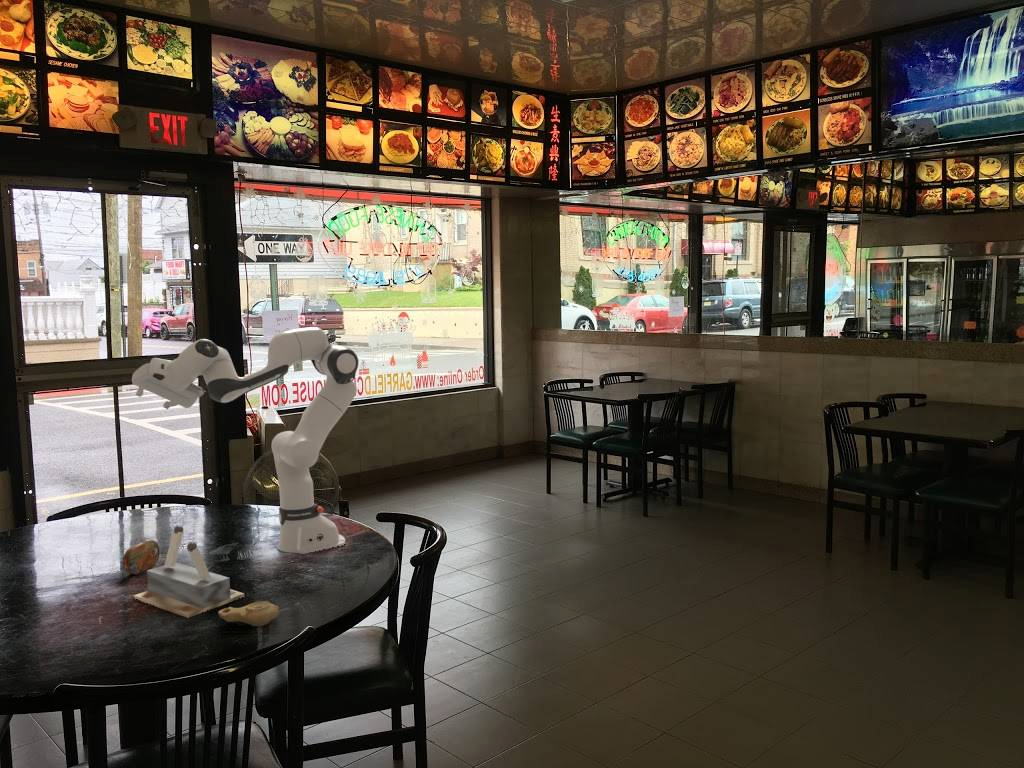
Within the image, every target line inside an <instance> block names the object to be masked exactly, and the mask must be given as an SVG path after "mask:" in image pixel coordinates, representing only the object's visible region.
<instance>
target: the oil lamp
mask: <svg viewBox="0 0 1024 768" xmlns="http://www.w3.org/2000/svg"><path fill="white" fill-rule="evenodd" d="M217 613H218V614H217V615H218V616H219V618H221V619H222V620H224V621H226V622H228V623H231V622H232V623H233V622H237V623H239V622H240V623H243V624H248V625H250V626H251V627H262V626H266V625H267V624H269V623H270V622H271V621H272V620H274V619H276V617H277V616H279V613H280V607H279V606H278V605H275V604H274V603H270V601H266V600H263V601H254V602H252V603H249V604H247V605H244V606H242V607H232V606H229V607H225V608H223V609H220V610H218V611H217Z"/></svg>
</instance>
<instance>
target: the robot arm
mask: <svg viewBox="0 0 1024 768" xmlns="http://www.w3.org/2000/svg"><path fill="white" fill-rule="evenodd" d="M305 361H311V363H312V366H313V367H314V369H315V370H316V371H317V372H318V373H319V374H321V375H323V376H326V380H325V383H324V386H323V387H322V388H321V389H320V390H319V392H318V393H317V394H316V395H315V396H314V398H313V399H312V401H311V402H310V403H309V404H308V405H307V407H306V408H305V409H304V411H303V412H302V414H301V418H300V421H299V423H298V425H297V426H296V428H295V429H294V431H293V430H287V431H281V432H280V433H279V432H278V433H277V434H276V435H275V436H274V437H273V438H272V440H271V452H272V455H273V459H274V465H275V470H276V471H275V473H276V475H277V480H278V481H277V482H278V487H279V488H278V489H279V503H280V506H279V507H278V517H279V518H278V520H279V521H278V522H279V524H280V532H279V539H278V545H277V550H278V551H280V552H285V553H295V554H302V555H306V554H310V552H311V553H315V551H316V552H319V550H320V551H324V550H323V549H325V550H330V549H333V548H332V547H334V548H338V547H337V546H339V547H342V545H343V546H344V544H345V545H346V543H345V542H346V538H345V537H344V536H343V535H342V534H339V530H338V527H337V526H336V524H335V522H334V521H332V520H330V519H329V518H327V517H326V516H324V515H322V513H324V508H323V507H322V505H321V506H320V505H318V504H317V503H315V501H314V500H315V499H314V481H313V479H312V477H311V473H310V468H311V467H313V466H314V465H315V464H316V463H317V461H318V460H319V456H320V451H321V449H322V447H323V445H324V443H325V441H326V439H327V438H328V435H329V433H330V432H331V431H332V429H333V428H334V427H335V425H337V423H338V422H339V420H340V419H341V418H342V416H344V414H345V413H346V411H347V410H348V409H349V407H350V406H351V403H353V400H354V398H355V396H356V394H357V391H358V390H357V389H358V388H357V385H356V383H355V382H354V380H355V378H356V376H357V375H356V373H357V371H358V368H359V358H358V355H357V353H356V352H355V351H354V350H352V349H351V348H350V347H347V346H343V345H340V344H339V345H337V344H335V345H334V344H330V342H329V340H328V336H327V333H326V332H325V331H324V330H323V329H322V328H320V327H317V326H316V327H300V328H295V329H289V330H285V331H282V332H279V333H277V334H275V335H273V336H272V339H271V340H270V342H269V344H268V349H267V364H266V365H265V367H263V368H261V369H259V370H257V371H255V372H253V373H250V374H248V375H245V376H241V377H240V376H239V375H238V373H237V372H236V369H235V366H234V363H233V361H232V358H231V355H230V353H229V352H228V350H227V349H226V348H224V347H221V346H218V345H217V344H216V343H214V342H213V341H212V340H209V339H206V338H200V339H198V340H196V341H194V342H192V343H191V344H190V345H188V346H186V348H184V349H183V350H182V352H180V353H179V354H178V356H177V358H175V359H173V360H168V359H162V358H159V357H153V358H151V360H150V362H149V363H148V362H147V363H144V364H143V365H141V366H139V368H137V369H136V370H135V371H134V372H133V373H132V376H131V383H132V385H134V386H136V387H138V389H137V390H136V392H135V396H136V397H138V398H141V397H142V396H143V395H144V390H145V391H147V392H150V393H152V394H154V395H156V396H158V397H161V398H163V399H165V402H163V408H164V409H166V410H168V409H170V408H171V407H176V406H181V407H183V408H184V409H189V408H191V407H192V406H194V404H195V403H196V402H197V400H198V398H201V397H202V396H203V395H204V394H205V390H204V388H203V387H202V386H198V385H197V384H195V383H194V382H195V381H196V379H197V378H198V377H200V376H203V379H204V381H205V384H206V387H207V392H208V394H209V395H208V396H209V398H211V400H213V401H215V402H218V403H221V404H227V403H230V402H233V401H234V400H237V399H238V398H240V397H241V396H243V395H245V394H247V393H250V392H252V391H254V390H256V389H259V388H261V387H263V386H266V385H268V384H271V383H272V382H275V381H277V380H279V379H280V378H282V377H285V375H287V374H288V372H289V368H291V367H292V366H294V365H295V364H298V363H301V362H302V363H303V362H305ZM329 548H330V549H329Z"/></svg>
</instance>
